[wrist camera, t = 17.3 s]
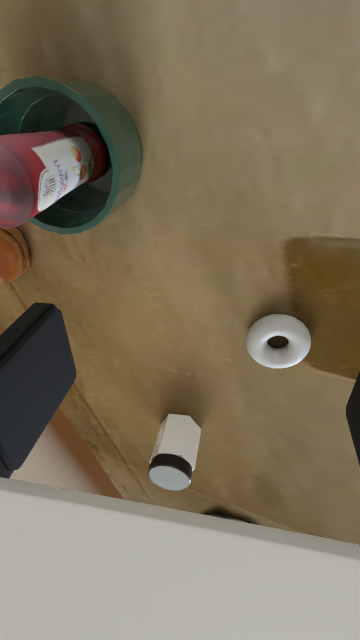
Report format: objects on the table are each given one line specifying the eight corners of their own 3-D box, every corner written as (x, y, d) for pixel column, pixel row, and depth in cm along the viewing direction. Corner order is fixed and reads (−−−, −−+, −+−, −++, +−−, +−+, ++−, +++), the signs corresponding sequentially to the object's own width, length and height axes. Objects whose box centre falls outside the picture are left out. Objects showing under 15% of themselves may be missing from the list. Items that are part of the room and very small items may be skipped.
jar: (172, 406, 70) (158, 458, 60) (207, 423, 70) (198, 477, 61) (155, 429, 75) (140, 479, 65) (188, 444, 76) (177, 496, 66)
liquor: (60, 111, 42) (-174, 136, 19) (116, 132, 42) (-50, 183, 19) (55, 171, 46) (-141, 250, 23) (106, 190, 46) (-40, 287, 24)
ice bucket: (47, 49, 39) (-4, 40, 31) (164, 127, 41) (142, 135, 34) (19, 173, 48) (-26, 189, 40) (116, 231, 50) (91, 257, 42)
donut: (263, 299, 52) (235, 345, 58) (264, 311, 49) (234, 358, 55) (322, 324, 53) (288, 367, 58) (326, 337, 50) (290, 381, 55)
